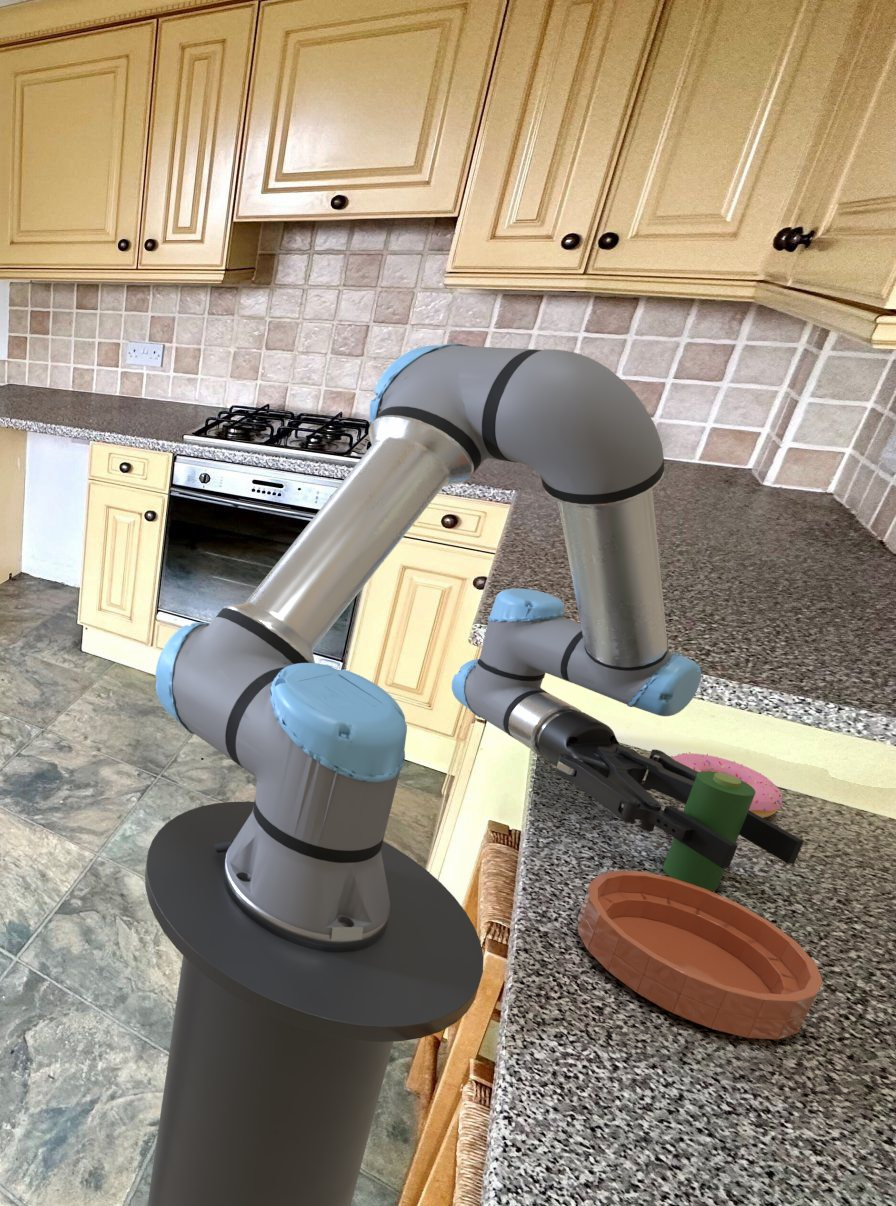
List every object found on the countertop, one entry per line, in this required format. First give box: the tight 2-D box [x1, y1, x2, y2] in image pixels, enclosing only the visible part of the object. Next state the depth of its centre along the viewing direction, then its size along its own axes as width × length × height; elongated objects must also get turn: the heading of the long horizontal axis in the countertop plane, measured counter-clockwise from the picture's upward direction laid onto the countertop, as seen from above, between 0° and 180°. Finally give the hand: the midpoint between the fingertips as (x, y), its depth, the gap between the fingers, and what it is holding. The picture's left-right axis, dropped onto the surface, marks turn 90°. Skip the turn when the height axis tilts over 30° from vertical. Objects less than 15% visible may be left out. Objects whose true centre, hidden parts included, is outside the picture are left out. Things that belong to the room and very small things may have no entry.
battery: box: [662, 771, 756, 892], centre depth 82 cm, size 4×4×13 cm
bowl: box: [577, 869, 823, 1040], centre depth 71 cm, size 15×15×5 cm
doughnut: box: [670, 751, 784, 819], centre depth 98 cm, size 11×11×4 cm
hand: (762, 854), depth 78 cm, fingers open, 7 cm apart
